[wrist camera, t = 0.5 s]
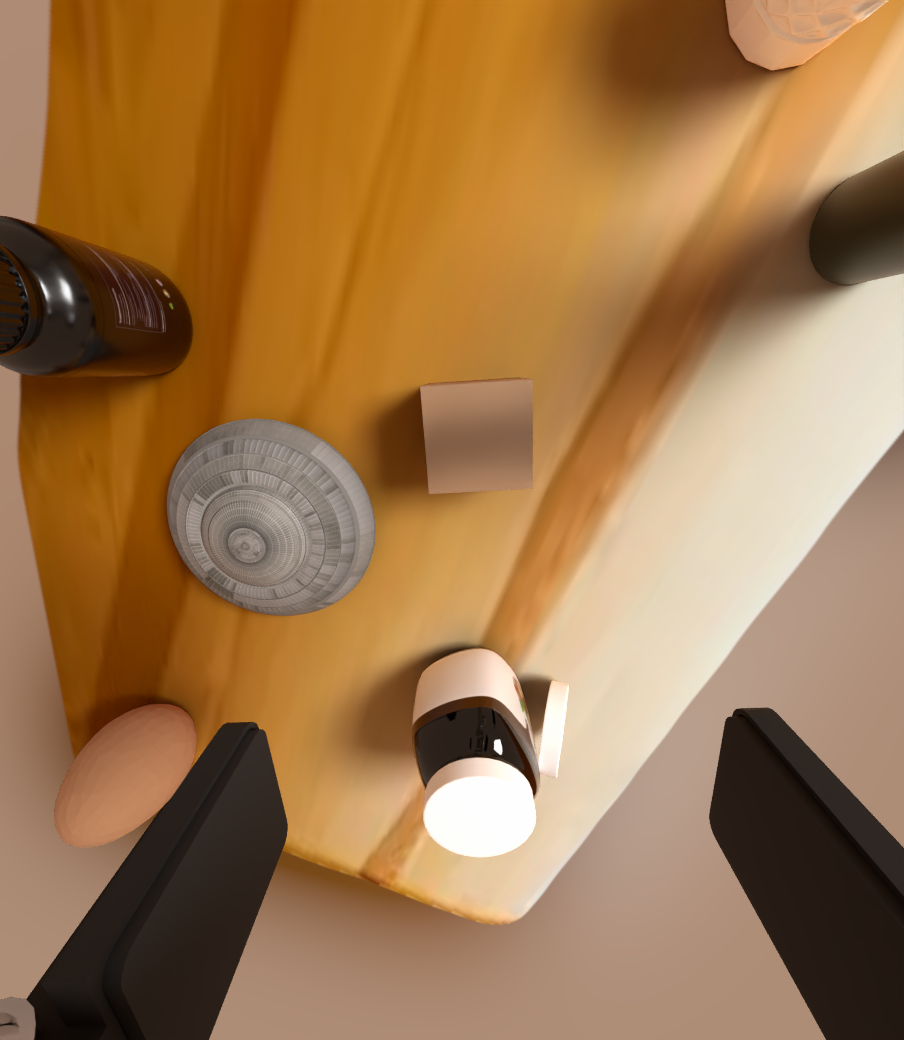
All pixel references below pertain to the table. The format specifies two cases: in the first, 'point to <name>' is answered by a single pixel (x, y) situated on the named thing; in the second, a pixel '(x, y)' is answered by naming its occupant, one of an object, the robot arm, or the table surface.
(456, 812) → the spread jar
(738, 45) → the white cup
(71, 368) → the supplement bottle
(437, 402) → the walnut block
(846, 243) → the wine bottle
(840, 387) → the table surface
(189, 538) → the flying saucer
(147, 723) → the egg
